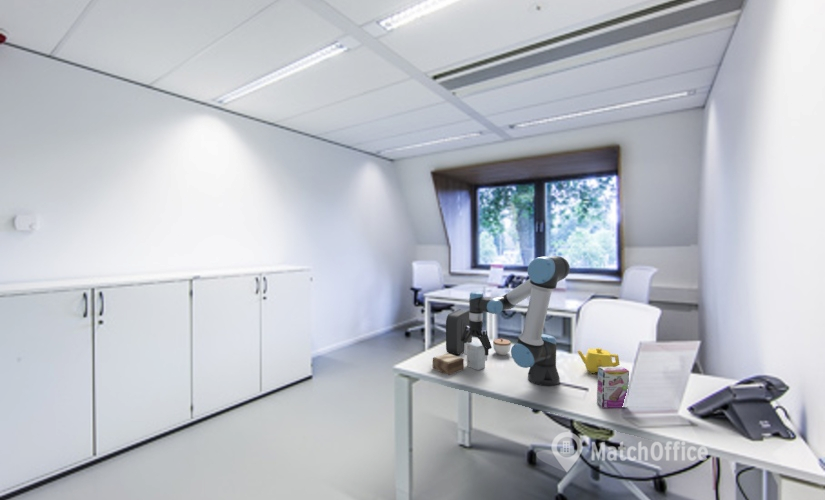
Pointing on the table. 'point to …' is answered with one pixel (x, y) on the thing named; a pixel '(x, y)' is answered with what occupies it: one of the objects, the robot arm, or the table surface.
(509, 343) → the lidded jar
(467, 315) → the speaker
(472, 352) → the small box
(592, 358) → the teapot
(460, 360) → the brown square box
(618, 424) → the table surface
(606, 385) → the candy bar box
